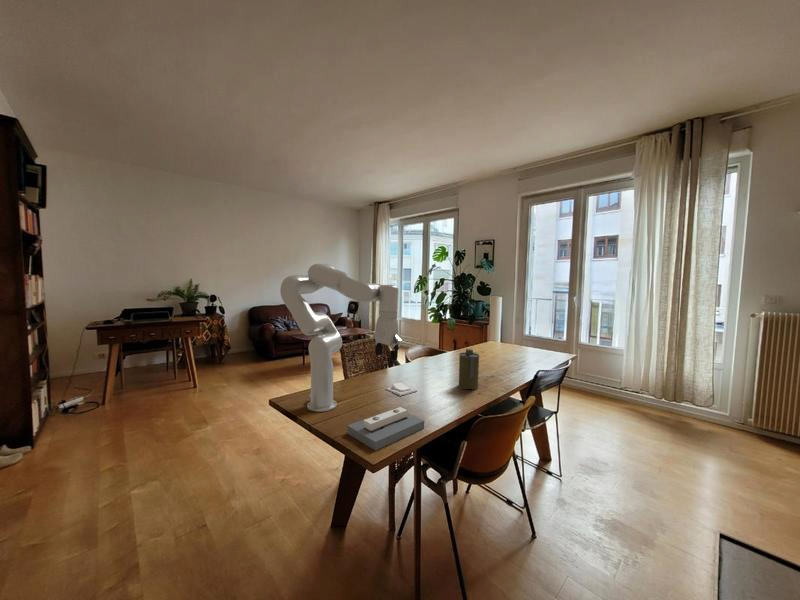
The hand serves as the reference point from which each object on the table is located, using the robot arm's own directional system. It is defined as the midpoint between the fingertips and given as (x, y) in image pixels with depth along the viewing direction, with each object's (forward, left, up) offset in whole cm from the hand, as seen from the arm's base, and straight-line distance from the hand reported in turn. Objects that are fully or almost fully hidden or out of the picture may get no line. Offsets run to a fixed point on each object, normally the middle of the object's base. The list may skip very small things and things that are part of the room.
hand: (386, 357), depth 131 cm
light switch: (-18, +26, -26) cm, 41 cm away
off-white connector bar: (+10, -8, -25) cm, 28 cm away
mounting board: (+10, -8, -25) cm, 28 cm away
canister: (+2, +57, -25) cm, 62 cm away
